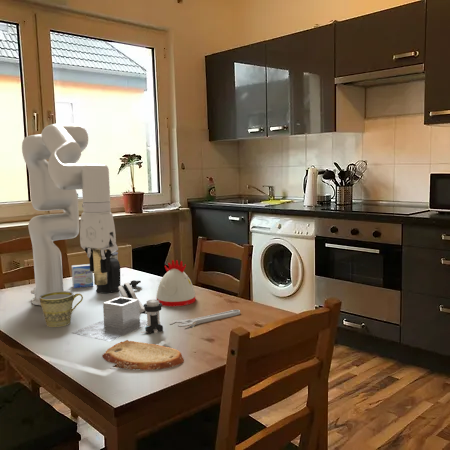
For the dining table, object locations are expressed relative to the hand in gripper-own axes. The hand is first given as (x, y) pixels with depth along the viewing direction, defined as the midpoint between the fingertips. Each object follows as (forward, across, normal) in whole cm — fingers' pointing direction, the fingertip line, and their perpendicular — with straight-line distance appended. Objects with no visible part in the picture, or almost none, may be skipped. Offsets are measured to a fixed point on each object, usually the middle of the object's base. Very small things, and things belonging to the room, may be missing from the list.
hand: (100, 270), depth 149 cm
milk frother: (+20, -32, +42) cm, 56 cm away
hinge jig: (+19, 0, +4) cm, 19 cm away
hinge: (+20, -10, +24) cm, 32 cm away
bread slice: (+20, +22, -9) cm, 31 cm away
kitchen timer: (+19, -2, +39) cm, 44 cm away
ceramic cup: (+19, -17, 0) cm, 26 cm away
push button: (+19, +13, +6) cm, 24 cm away
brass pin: (+4, 0, 0) cm, 4 cm away
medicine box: (+20, -49, +40) cm, 66 cm away
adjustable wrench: (+20, +20, +25) cm, 38 cm away
